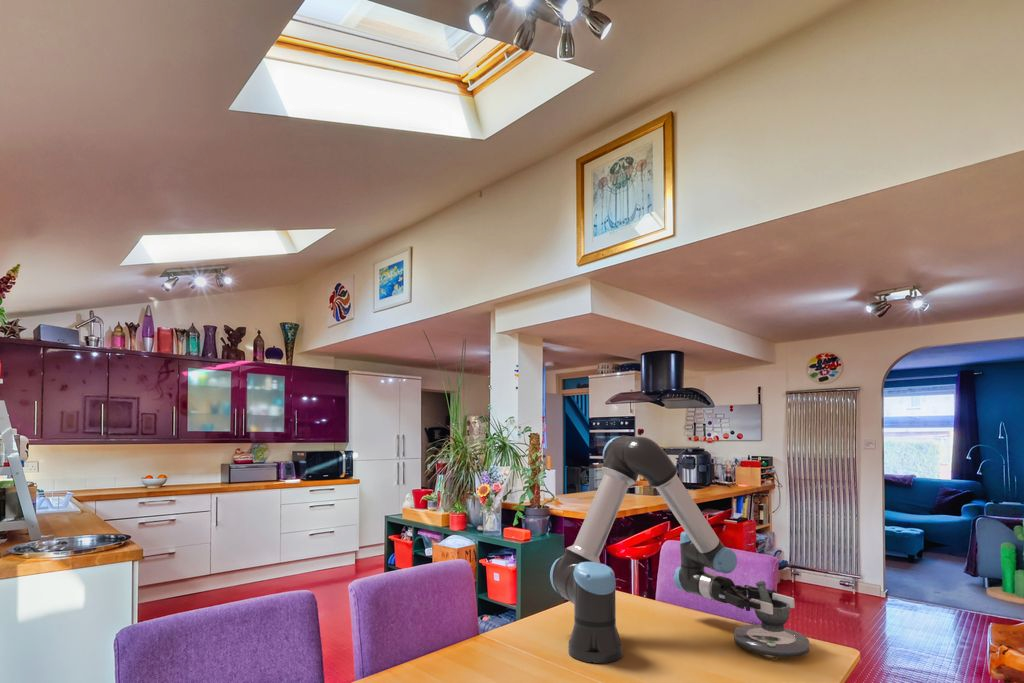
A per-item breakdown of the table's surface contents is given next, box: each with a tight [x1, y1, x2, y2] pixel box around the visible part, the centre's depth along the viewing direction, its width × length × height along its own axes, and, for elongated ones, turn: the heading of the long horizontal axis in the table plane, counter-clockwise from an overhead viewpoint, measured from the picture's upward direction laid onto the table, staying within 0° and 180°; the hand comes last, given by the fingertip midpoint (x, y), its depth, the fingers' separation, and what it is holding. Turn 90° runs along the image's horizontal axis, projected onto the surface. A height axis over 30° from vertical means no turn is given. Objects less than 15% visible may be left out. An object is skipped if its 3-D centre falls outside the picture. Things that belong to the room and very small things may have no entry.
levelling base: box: [733, 624, 811, 660], centre depth 174 cm, size 20×20×4 cm
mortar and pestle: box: [754, 580, 791, 632], centre depth 175 cm, size 11×9×12 cm
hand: (783, 606), depth 171 cm, fingers closed on mortar and pestle, 10 cm apart
